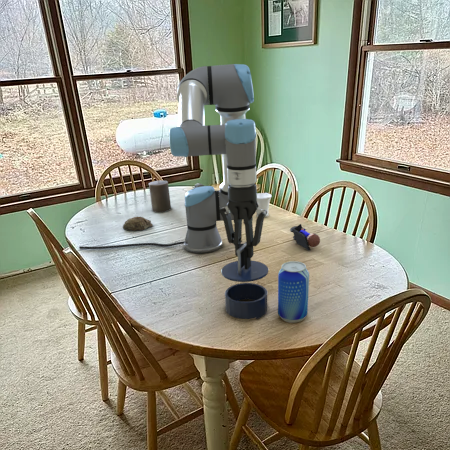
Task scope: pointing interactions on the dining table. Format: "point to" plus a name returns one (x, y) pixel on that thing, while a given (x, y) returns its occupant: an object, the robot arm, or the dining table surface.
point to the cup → (264, 201)
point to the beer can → (293, 291)
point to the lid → (244, 270)
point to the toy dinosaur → (198, 185)
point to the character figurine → (305, 237)
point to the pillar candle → (160, 196)
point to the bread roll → (137, 224)
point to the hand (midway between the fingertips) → (244, 266)
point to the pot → (246, 308)
